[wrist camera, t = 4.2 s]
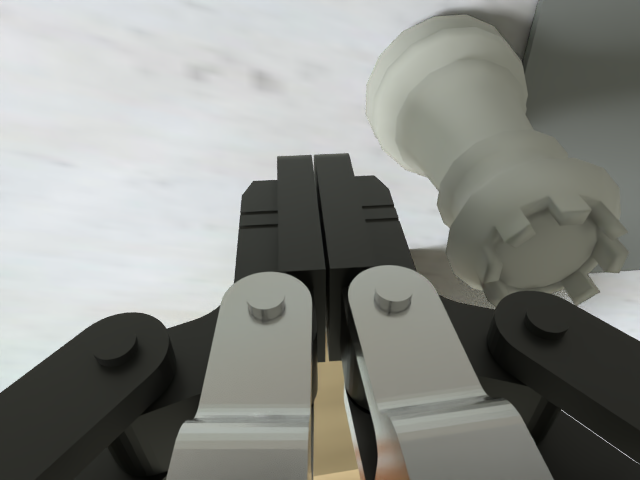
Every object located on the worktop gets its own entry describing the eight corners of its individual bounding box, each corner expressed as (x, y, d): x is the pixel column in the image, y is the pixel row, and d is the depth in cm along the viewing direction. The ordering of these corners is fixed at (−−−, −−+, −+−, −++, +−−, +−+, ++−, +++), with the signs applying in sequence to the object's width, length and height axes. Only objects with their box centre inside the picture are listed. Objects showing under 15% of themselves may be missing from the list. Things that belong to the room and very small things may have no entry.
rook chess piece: (535, 21, 14) (755, 170, 7) (477, 160, 16) (602, 353, 10) (382, -4, 13) (483, 138, 7) (349, 146, 16) (398, 343, 9)
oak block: (295, 271, 19) (305, 477, 13) (408, 249, 19) (474, 449, 12) (316, 341, 22) (334, 538, 16) (415, 323, 21) (473, 516, 15)
